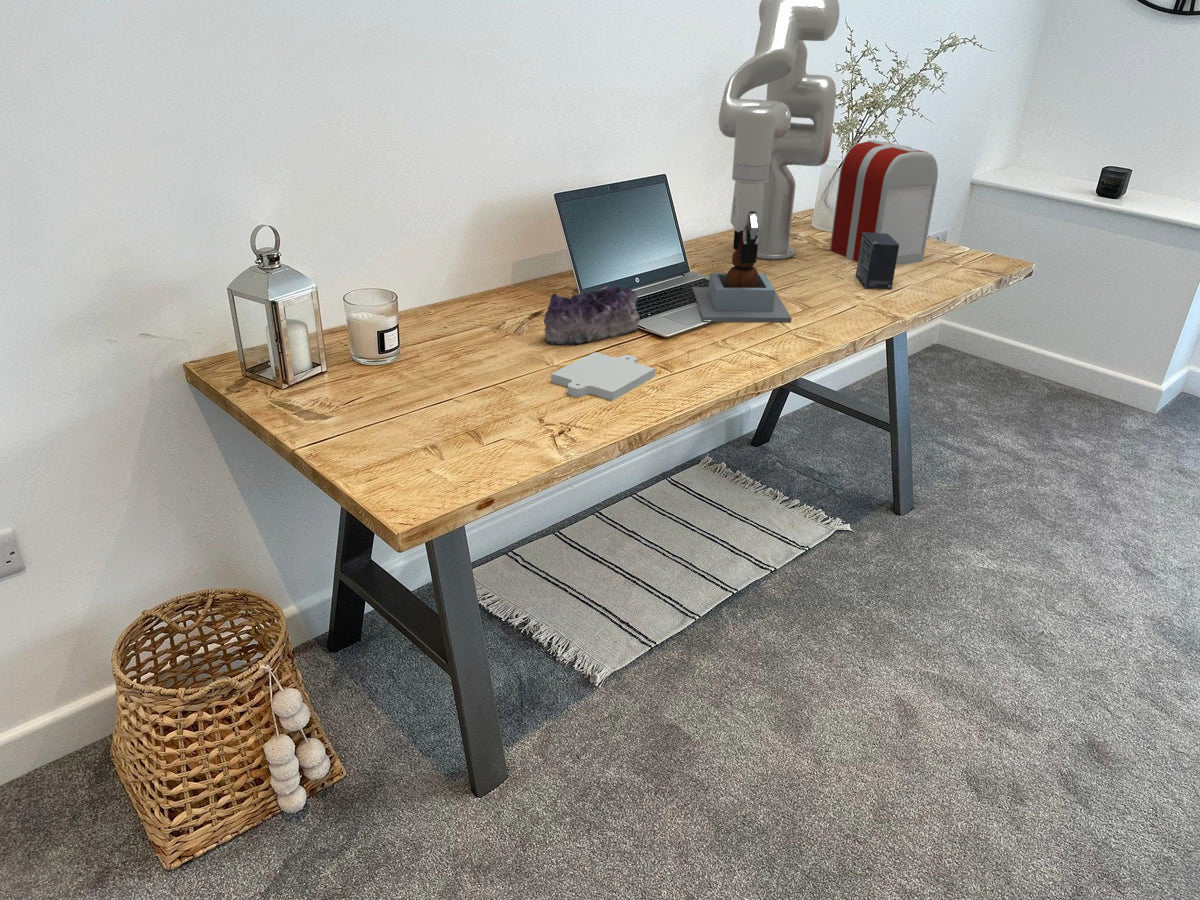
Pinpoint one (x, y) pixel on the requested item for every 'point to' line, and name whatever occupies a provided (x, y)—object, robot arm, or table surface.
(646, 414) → the table surface
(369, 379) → the table surface
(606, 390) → the mounting plate
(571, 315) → the geode
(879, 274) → the small box
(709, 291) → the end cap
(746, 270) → the wooden figurine
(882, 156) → the red striped mailbox
